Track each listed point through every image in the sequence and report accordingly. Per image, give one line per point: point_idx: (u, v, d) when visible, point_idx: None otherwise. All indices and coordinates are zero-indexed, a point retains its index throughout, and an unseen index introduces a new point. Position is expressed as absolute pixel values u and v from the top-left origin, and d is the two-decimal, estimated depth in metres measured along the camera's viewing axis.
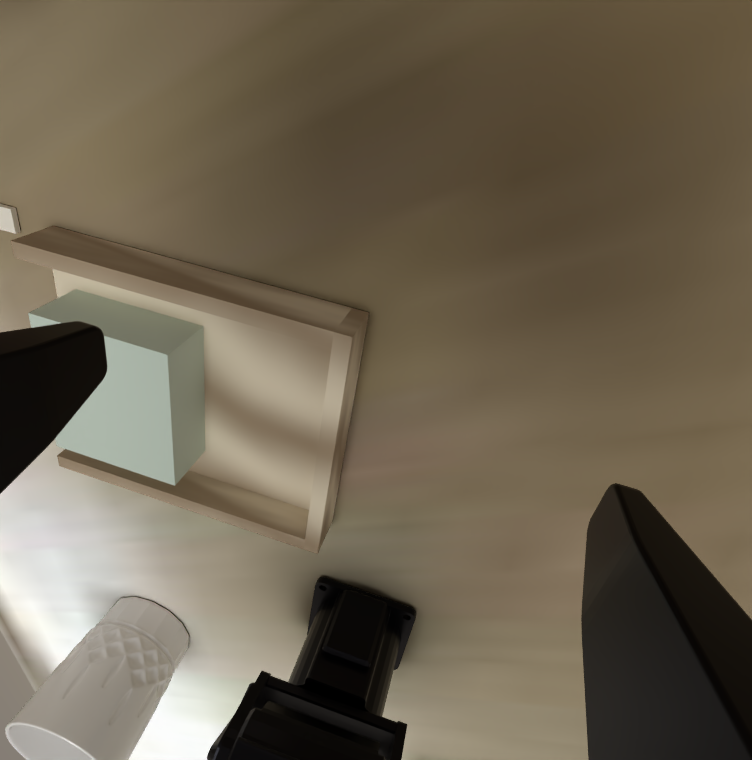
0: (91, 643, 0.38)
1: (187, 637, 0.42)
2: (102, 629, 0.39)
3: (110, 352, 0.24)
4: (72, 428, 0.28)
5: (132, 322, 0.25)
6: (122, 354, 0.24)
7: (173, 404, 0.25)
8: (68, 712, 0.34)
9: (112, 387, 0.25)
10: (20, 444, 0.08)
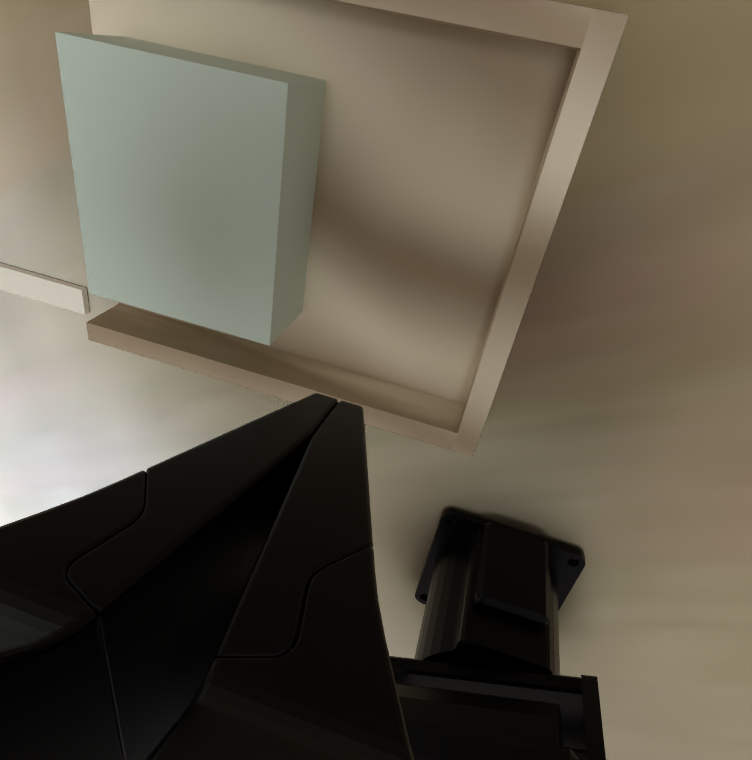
0: None
1: None
2: None
3: (188, 93, 0.15)
4: (115, 257, 0.18)
5: (219, 61, 0.16)
6: (209, 95, 0.15)
7: (284, 192, 0.16)
8: None
9: (186, 167, 0.16)
10: None
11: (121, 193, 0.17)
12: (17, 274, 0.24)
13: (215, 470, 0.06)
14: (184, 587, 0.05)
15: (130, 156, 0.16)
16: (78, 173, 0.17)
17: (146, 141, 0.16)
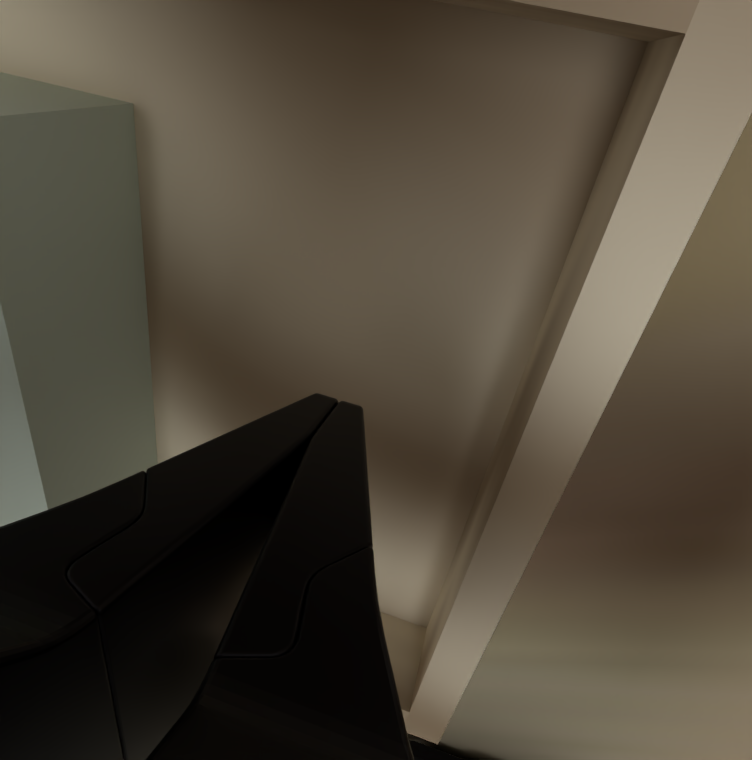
0: None
1: None
2: None
3: None
4: None
5: None
6: None
7: (26, 339, 0.08)
8: None
9: None
10: None
11: None
12: None
13: (215, 470, 0.06)
14: (184, 587, 0.05)
15: None
16: None
17: None
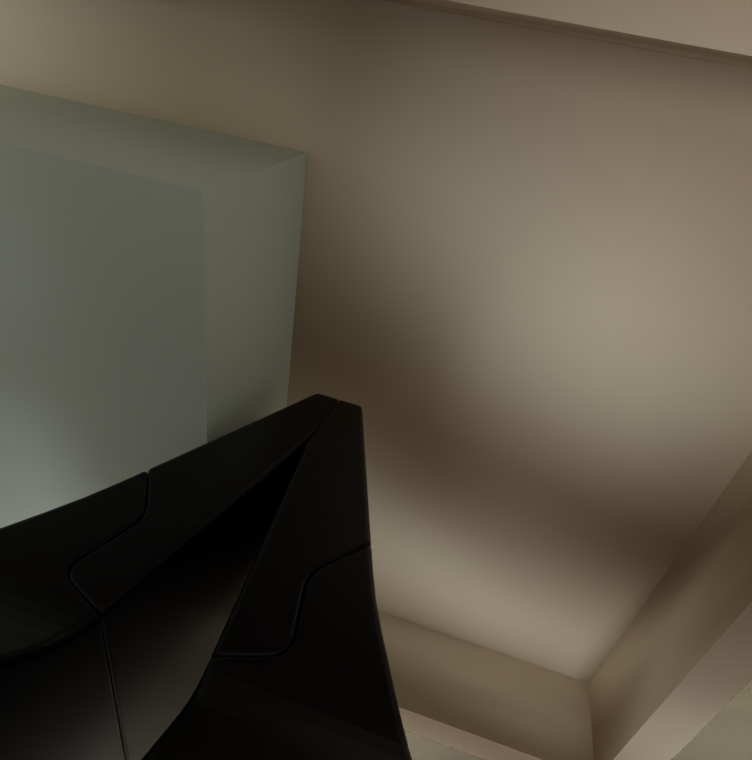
0: None
1: None
2: None
3: None
4: None
5: (74, 122, 0.07)
6: (26, 211, 0.06)
7: (216, 401, 0.07)
8: None
9: (9, 346, 0.07)
10: None
11: None
12: None
13: (217, 470, 0.06)
14: (186, 588, 0.05)
15: None
16: None
17: None
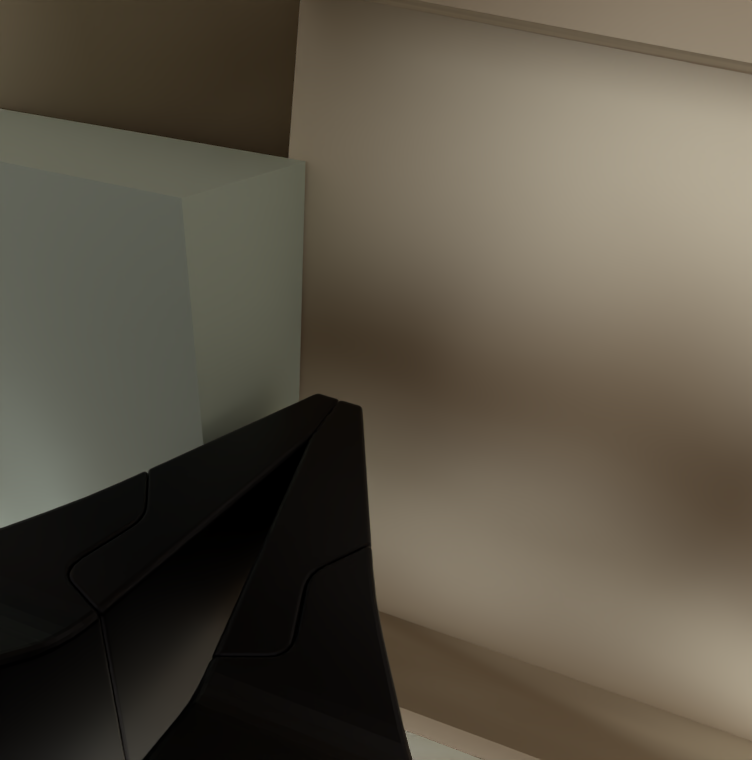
0: None
1: None
2: None
3: None
4: None
5: (83, 142, 0.08)
6: (30, 225, 0.07)
7: (213, 407, 0.07)
8: None
9: (23, 356, 0.08)
10: None
11: None
12: None
13: (217, 470, 0.06)
14: (186, 587, 0.05)
15: None
16: None
17: None
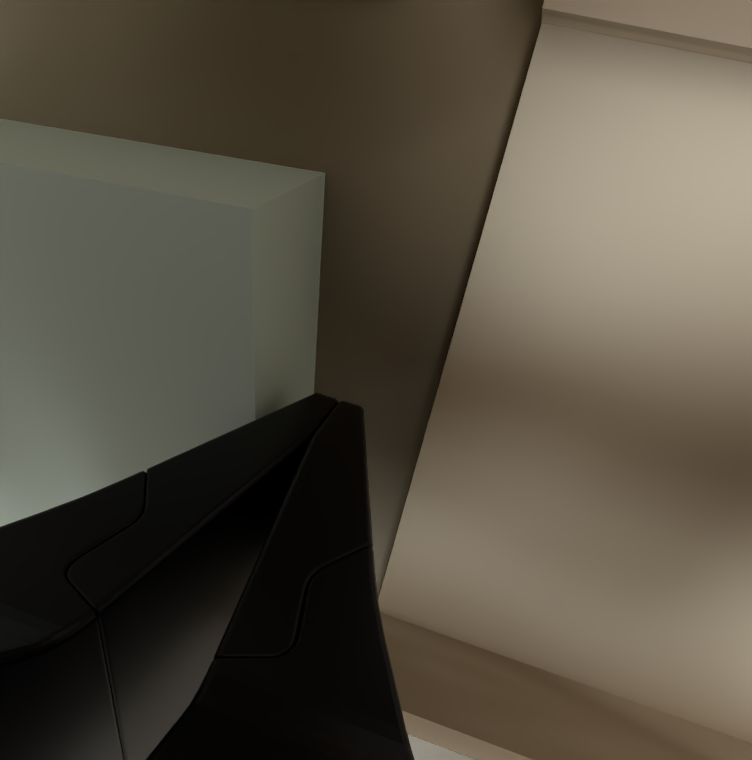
0: None
1: None
2: None
3: (57, 231, 0.07)
4: None
5: (128, 154, 0.08)
6: (96, 234, 0.07)
7: (262, 396, 0.08)
8: None
9: (77, 355, 0.08)
10: None
11: None
12: None
13: (215, 470, 0.06)
14: (184, 587, 0.05)
15: None
16: None
17: (0, 312, 0.08)
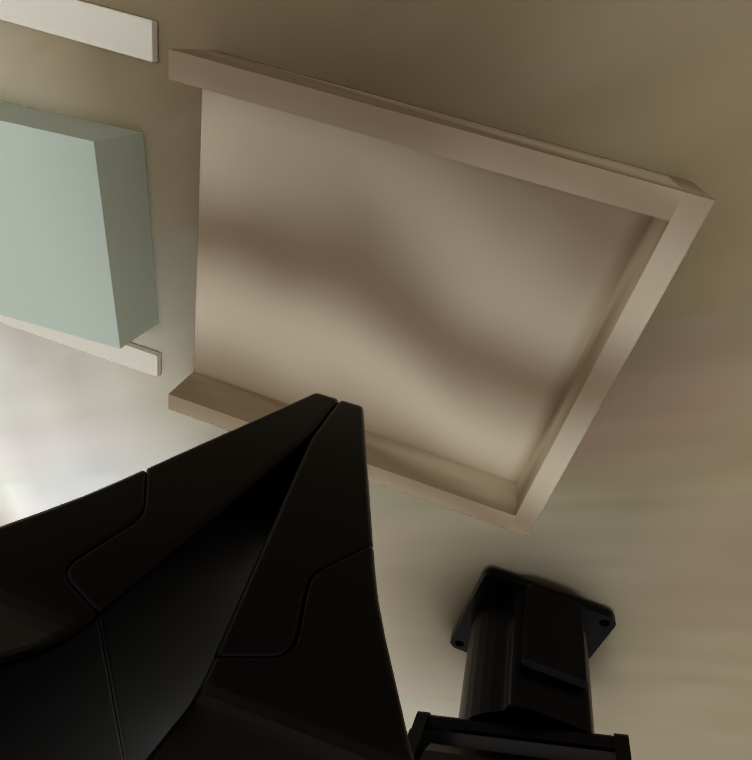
0: None
1: None
2: None
3: (22, 149, 0.19)
4: None
5: (55, 120, 0.20)
6: (38, 150, 0.19)
7: (109, 225, 0.20)
8: None
9: (31, 205, 0.20)
10: None
11: None
12: None
13: (215, 470, 0.06)
14: (184, 587, 0.05)
15: None
16: None
17: None
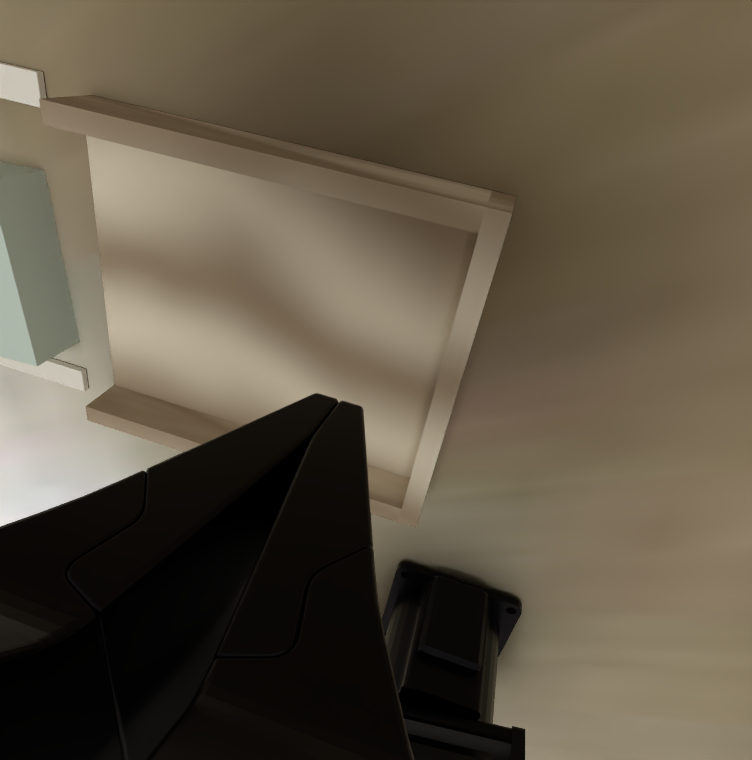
0: None
1: None
2: None
3: None
4: None
5: None
6: None
7: (14, 254, 0.22)
8: None
9: None
10: None
11: None
12: None
13: (215, 470, 0.06)
14: (184, 587, 0.05)
15: None
16: None
17: None
